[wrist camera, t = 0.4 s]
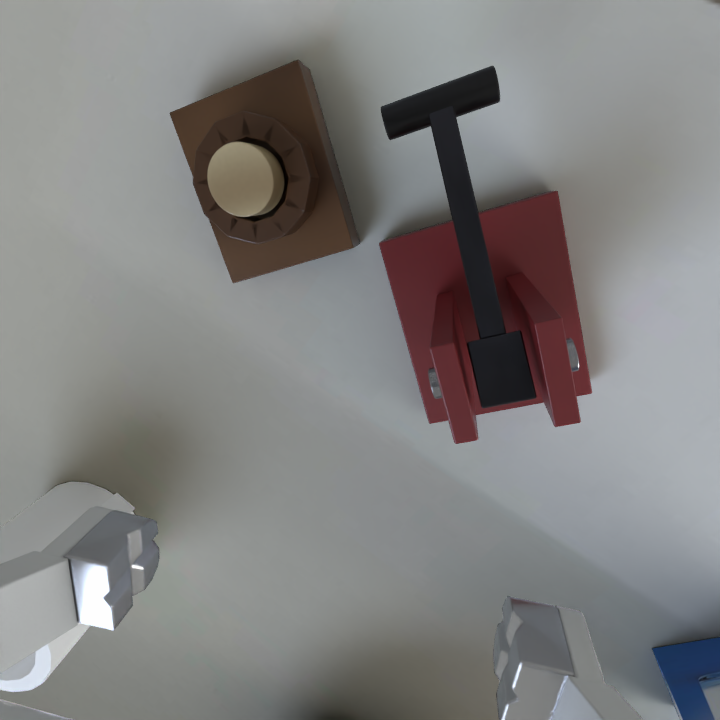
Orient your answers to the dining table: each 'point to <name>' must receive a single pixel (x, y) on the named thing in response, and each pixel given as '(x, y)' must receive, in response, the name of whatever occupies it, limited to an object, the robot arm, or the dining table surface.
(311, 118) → the control block
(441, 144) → the lever
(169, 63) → the dining table surface
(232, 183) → the button
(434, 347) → the bracket
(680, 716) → the milk carton
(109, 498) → the mug
